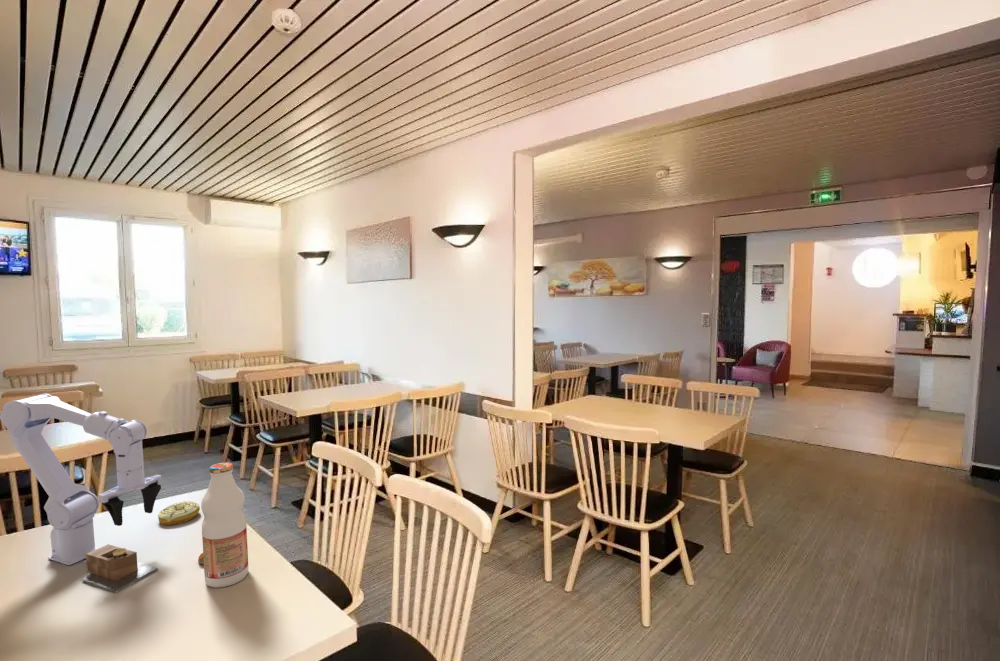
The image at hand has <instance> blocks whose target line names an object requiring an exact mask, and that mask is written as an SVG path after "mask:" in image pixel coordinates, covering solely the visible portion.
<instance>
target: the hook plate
mask: <svg viewBox="0 0 1000 661" xmlns="http://www.w3.org/2000/svg"><path fill="white" fill-rule="evenodd" d="M126 549H127V548H125V547H120V549H117V550H115V551H113V557H116V558H117V559H120V558H122V557H123V555H125V554H126ZM137 566H138V570H137V571H135V572H133V573H131V574H129V575H127V576H125V577H123V578H121V579H119V580H117V581H114V580H111V579H108V578H105V577H102V576H99V575H96V574H93V573H92V574H90V575H89V576H88V577H85V578H82V583H86V584H87V585H91V586H93V587H97V588H99V589H102V590H105V591H109V592H111V593H117V592H119V591H121V590H123V589H124V588H127V587H128V586H130V585H132V584H134V583H137V582H138V581H140V580H143V579H144V578H146V577H148V576H149V575H152V574H153V573H156V572H157V571H159V568H158V567H156V566H153V565H150V564H145V563H143V562H140V561H137Z"/></svg>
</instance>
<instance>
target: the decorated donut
mask: <svg viewBox="0 0 1000 661" xmlns="http://www.w3.org/2000/svg"><path fill="white" fill-rule="evenodd" d="M200 509H201V506H200V504H199V503H197V502H195V501H181V502H175V503H173V504H171V505H168V506H166V507H165V508H163V509H162V510H161V511H159V513H158V514H157V518H158V520H159V523H160V524H161V525H162V526H173V525H178V524H182V522H183V523H185V522H188V521H191V520H192V519H194V518H195V517H196V516H197V515H198V514H199V513H200V511H201V510H200Z"/></svg>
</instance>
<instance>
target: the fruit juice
mask: <svg viewBox="0 0 1000 661" xmlns="http://www.w3.org/2000/svg"><path fill="white" fill-rule="evenodd" d="M232 472H234V465H233V463H232V462H227V461H226V462H219V463H215V464H212V465H211V466H210V467H209V475H210V481H209V484H208V488H207V490H206V492H205V494H204V495H203V497H202V500H201V504H200V505H201V506H200V509H201V511H202V515H203V521H202V523H201V524H202V525H201V536H202V537H201V538H202V540H201V541H202V553H203V558H204V564H203V574H204V582H205V584H206V585H207V586H208V587H209V588H216V589H217V588H224V587H229V586H233V585H235V584H238V583H239V582H241V581H242V580H243V579H245V578H246V576H247V575H248V573H249V552H248V551H249V550H248V532H247V517H246V513H245V512H244V510H243V508H244V505H245V494H244V492H243V491H242V489H241V488H240V487H239V486H238V485H237V483H236V481H235V479H234V476H233V473H232Z"/></svg>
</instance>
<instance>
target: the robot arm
mask: <svg viewBox="0 0 1000 661" xmlns="http://www.w3.org/2000/svg"><path fill="white" fill-rule="evenodd" d="M52 418H53V419H56V420H59V421H63V422H66V423H71V424H74V425H77V426H81V427H82V428H83V431H84V433H86V434H89V435H92V436H95V437H98V438H101V439H103V440H107V441H108V443H109V444H110V445H111V447H112V448H113V453H114V455H115V463H116V464H115V467H116V479H117V486H115V487H112V488H110V489H108V490H106V491H103V492H102V493H99V494H98V496H97V495H96V494H95V493H93V492H91V491H90V490H89V488H87V486H86V485H82V484H78V483H75V482H74V480H72V478H71V477H70V475H69V473H68V472H67V470H66V469H65V467H64V466H63V464H62V463H61V461H60V460H59V458H58V456H56V454H55V452H54V451H53V449H52V448H51V447H50V446H49V443H48V441H46V439H45V437H44V435H42V432H43V429H44V428H45V427H46V425H47V424H48V423H49V421H50V420H51V419H52ZM0 420H1V422H2V423H3V425H4V427H5V428H6V429H7V432H8V436H9V439H10V440H11V442H12V445H14V447H15V448H16V450H17V451H18V453H19V454H20V455H21V457H22V459H23V461H24V462H25V463H26V464H27V466H28V468H29V469H30V470H31V472H32V474H33V475H34V477H35V478H36V480H37V481H38V482H39V483H40V485H41V486H42V488H43V490H44V491H45V492H46V494H47V495H48V499H47V500H46V502H45V504H44V506H43V509H44V511H45V512H46V516H47V521H48V523H49V524H50V525H51V526H52V529H51V532H50V544H51V555H49V556H47V558H48V559H49V560H52V561H54V562H57V563H61V564H63V565H67V566H72V565H74V564H76V563H78V562H80V561H83V560H86V554H87V553H89V552H92V551H94V550H96V549H98V548H100V547H98V546H96V544H95V530H94V528H95V527H94V518H95V512H97V511H98V509H99V507H100V503H101V504H102V505H103V506H104V508H105V509H106V510H107V511H108V513H109V515H110V516H111V518H112V522H113V524H114V526H117V527H118V526H119V527H121V526H122V525H123V506H124V500H121V499H120V497H122V496H125V495H127V494H131V493H134V492H135V491H140V492H141V495H142V496H141V497H142V500H143V501H142V502H143V510H144V513H146V514H152V513H153V511H154V506H155V502H156V500H157V497H158V495H159V492H160V491H161V489H162V485H161V483H162V482H163V480H162V475H160V474H155V475H151V476H147V477H145V464H144V462H145V461H144V449H143V440H144V439H145V438H146V436H147V433H148V430H147V427H146V425H145V424H144V423H143V422H142V421H140V420H138V419H132V420H129V421H128V420H126V419H125V418H118V417H116V416H113V415H110V414H109V412H108V411H104V410H102V411H96V412H93V413H90V412H88V411H86V410H83V409H80V408H78V407H76V406H74V405H73V404H72V405H71V404H69V403H67V402H65V401H62V400H61V399H60V398H59V397H58V396H56V395H54V396H53V395H51V394H49V393H40V394H37V395H33V396H29V397H27V398H21V399H18V400H10V401H8V402H7V403H5V404H4V405H3V407H2V409H1V412H0ZM65 500H66V501H65Z"/></svg>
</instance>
